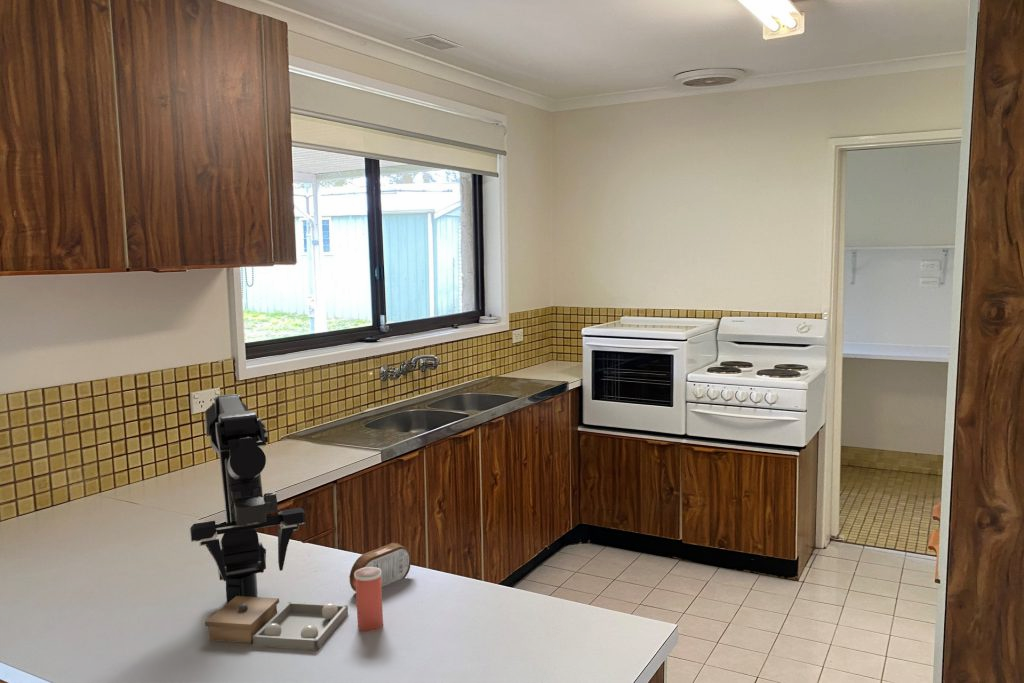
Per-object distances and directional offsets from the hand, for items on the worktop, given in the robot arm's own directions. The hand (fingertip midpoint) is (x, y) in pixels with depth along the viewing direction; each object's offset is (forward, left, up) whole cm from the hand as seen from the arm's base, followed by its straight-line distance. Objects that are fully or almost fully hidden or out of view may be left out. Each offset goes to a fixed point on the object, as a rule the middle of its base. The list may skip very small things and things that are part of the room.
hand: (253, 575), depth 136 cm
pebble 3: (-14, +7, -14) cm, 21 cm away
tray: (-9, +4, -15) cm, 18 cm away
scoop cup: (-12, +16, -15) cm, 25 cm away
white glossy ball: (-5, +7, -14) cm, 16 cm away
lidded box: (-8, -7, -15) cm, 18 cm away
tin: (-30, +12, -15) cm, 36 cm away
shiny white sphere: (-5, 0, -14) cm, 15 cm away
